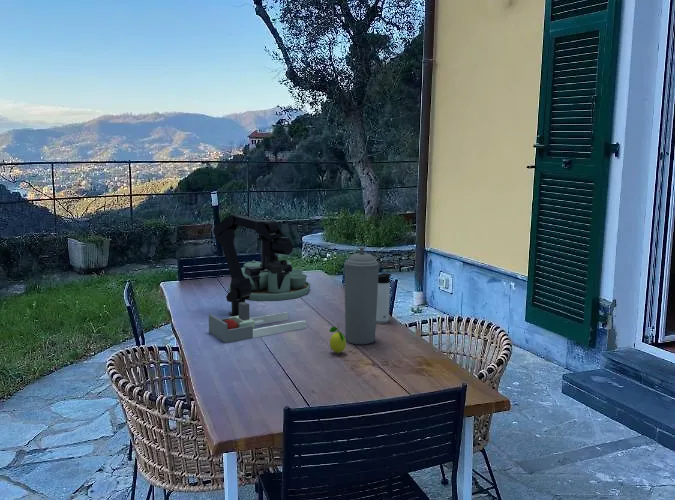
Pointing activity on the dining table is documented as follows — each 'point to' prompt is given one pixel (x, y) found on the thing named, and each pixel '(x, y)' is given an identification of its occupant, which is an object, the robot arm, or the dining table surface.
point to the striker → (245, 317)
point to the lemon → (337, 341)
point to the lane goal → (231, 335)
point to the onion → (231, 324)
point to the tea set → (269, 291)
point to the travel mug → (383, 298)
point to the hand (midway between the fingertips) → (268, 290)
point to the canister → (361, 297)
